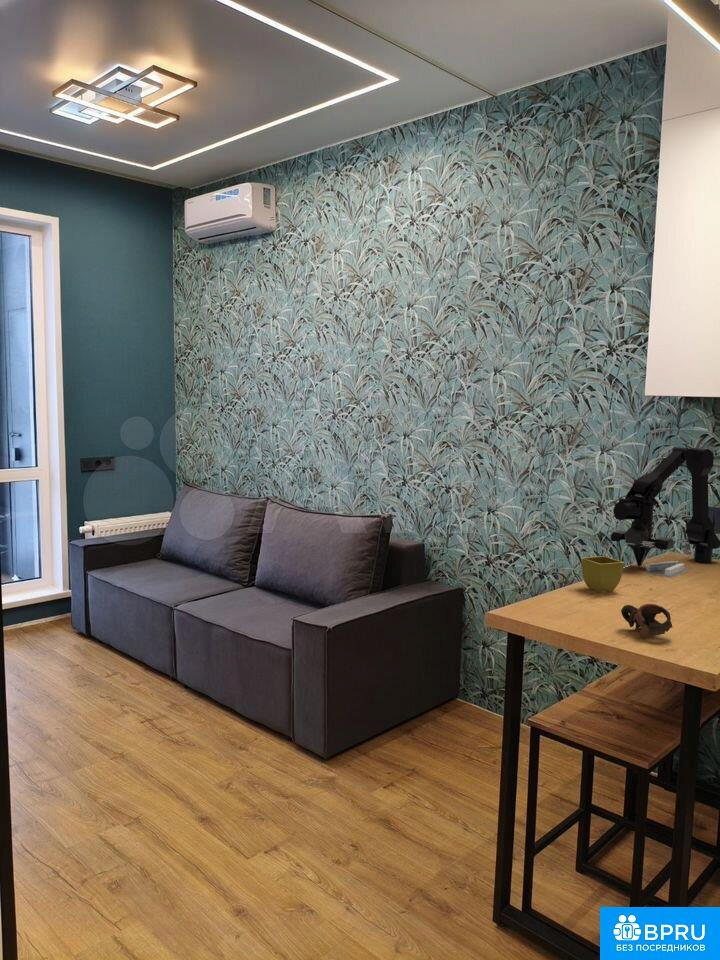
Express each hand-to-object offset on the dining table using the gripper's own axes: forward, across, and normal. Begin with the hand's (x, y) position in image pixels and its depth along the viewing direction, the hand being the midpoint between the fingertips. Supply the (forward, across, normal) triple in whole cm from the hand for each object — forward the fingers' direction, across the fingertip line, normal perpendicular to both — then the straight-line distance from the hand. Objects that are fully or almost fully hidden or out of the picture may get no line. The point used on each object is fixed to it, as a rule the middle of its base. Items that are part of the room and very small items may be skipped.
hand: (639, 566), depth 242 cm
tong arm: (0, +6, +3) cm, 7 cm away
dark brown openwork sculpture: (+2, +28, -62) cm, 68 cm away
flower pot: (+2, +2, -33) cm, 33 cm away
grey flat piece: (+2, +8, +3) cm, 9 cm away
